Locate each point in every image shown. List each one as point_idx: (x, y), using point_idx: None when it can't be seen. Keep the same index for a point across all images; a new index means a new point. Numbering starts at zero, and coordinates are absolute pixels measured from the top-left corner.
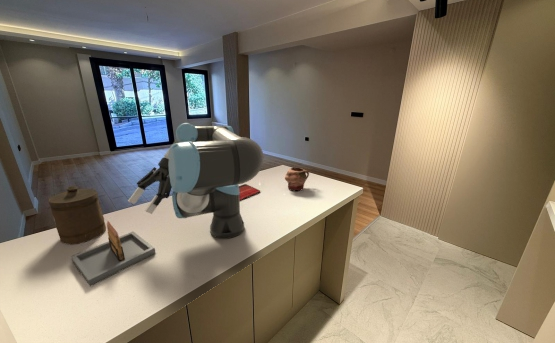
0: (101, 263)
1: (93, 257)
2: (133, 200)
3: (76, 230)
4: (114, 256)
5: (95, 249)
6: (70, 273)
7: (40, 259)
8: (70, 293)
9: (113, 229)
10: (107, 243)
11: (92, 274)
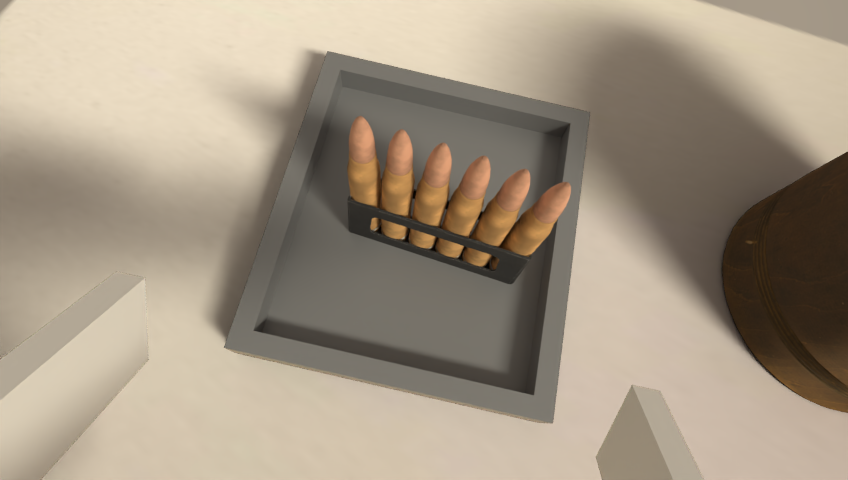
0: None
1: None
2: (623, 457)
3: (798, 192)
4: None
5: None
6: (496, 89)
7: (723, 92)
8: (367, 32)
9: (398, 132)
10: (552, 252)
11: (388, 107)
